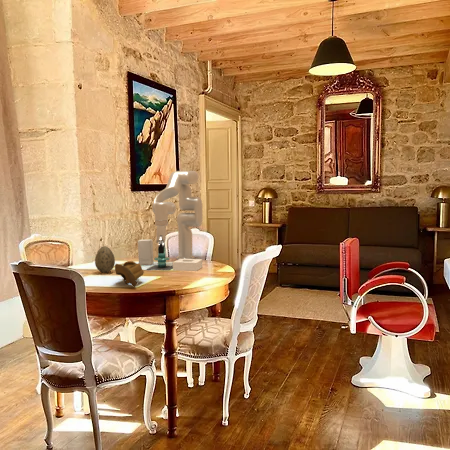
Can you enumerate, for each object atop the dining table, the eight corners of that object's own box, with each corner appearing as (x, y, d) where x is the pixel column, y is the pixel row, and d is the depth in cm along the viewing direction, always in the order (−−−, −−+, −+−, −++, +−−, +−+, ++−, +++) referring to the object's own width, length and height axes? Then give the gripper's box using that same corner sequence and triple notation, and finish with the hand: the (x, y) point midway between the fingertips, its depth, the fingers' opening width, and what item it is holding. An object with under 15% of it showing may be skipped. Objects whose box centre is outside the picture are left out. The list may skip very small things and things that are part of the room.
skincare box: (153, 263, 275) (153, 239, 274) (151, 265, 268) (150, 240, 267) (141, 263, 276) (140, 239, 274) (137, 265, 269) (137, 240, 268)
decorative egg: (104, 270, 250) (104, 244, 249) (119, 271, 245) (118, 245, 244) (91, 273, 240) (90, 246, 239) (105, 275, 235) (105, 247, 234)
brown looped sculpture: (95, 271, 204) (118, 257, 224) (106, 296, 205) (127, 280, 226) (128, 261, 198) (148, 248, 219) (139, 287, 200) (157, 271, 220)
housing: (179, 266, 262) (179, 258, 261) (202, 267, 259) (202, 259, 259) (173, 270, 248) (172, 262, 248) (196, 271, 245) (196, 262, 245)
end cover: (157, 265, 262) (157, 246, 261) (171, 266, 260) (171, 247, 259) (152, 268, 253) (151, 248, 252) (166, 268, 251) (166, 248, 250)
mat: (154, 266, 265) (154, 265, 264) (176, 266, 262) (176, 265, 262) (146, 270, 251) (146, 269, 251) (169, 270, 248) (169, 269, 248)
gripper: (156, 222, 263) (156, 250, 264) (153, 224, 246) (154, 254, 247) (168, 222, 263) (168, 250, 265) (167, 224, 246) (167, 254, 247)
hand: (161, 252), depth 256 cm, fingers open, 9 cm apart
